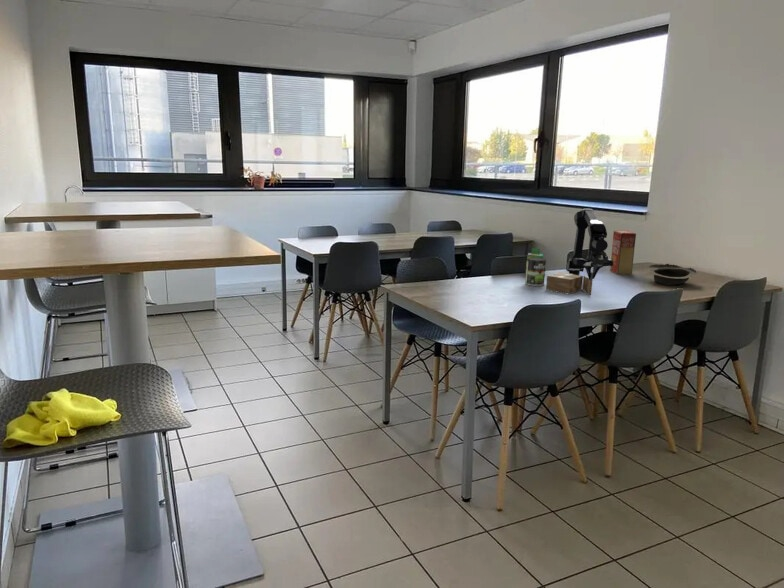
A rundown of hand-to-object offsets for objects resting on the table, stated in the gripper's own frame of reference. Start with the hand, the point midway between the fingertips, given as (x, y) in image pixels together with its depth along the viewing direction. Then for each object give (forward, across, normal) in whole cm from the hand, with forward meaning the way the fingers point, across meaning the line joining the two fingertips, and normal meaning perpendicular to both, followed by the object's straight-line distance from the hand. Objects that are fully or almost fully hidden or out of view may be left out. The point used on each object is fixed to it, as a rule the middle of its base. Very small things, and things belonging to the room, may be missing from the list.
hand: (591, 278), depth 290 cm
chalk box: (+9, -13, +55) cm, 58 cm away
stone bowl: (+8, +57, +29) cm, 65 cm away
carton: (+9, -9, +12) cm, 17 cm away
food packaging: (+8, +41, +58) cm, 72 cm away
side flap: (+8, 0, +5) cm, 9 cm away
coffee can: (+9, -21, +25) cm, 34 cm away
